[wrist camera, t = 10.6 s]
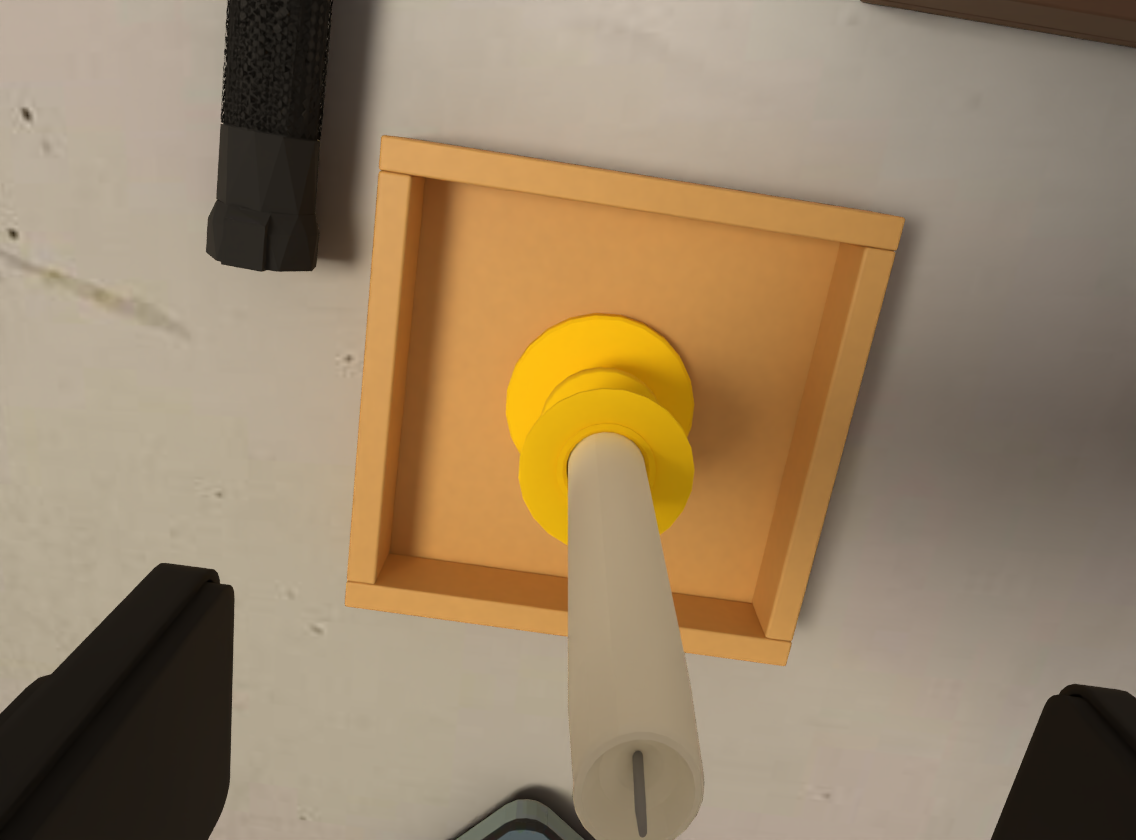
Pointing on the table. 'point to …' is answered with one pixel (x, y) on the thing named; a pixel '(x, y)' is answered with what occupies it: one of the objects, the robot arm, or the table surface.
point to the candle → (615, 560)
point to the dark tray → (1041, 15)
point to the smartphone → (522, 824)
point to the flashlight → (270, 135)
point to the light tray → (610, 286)
